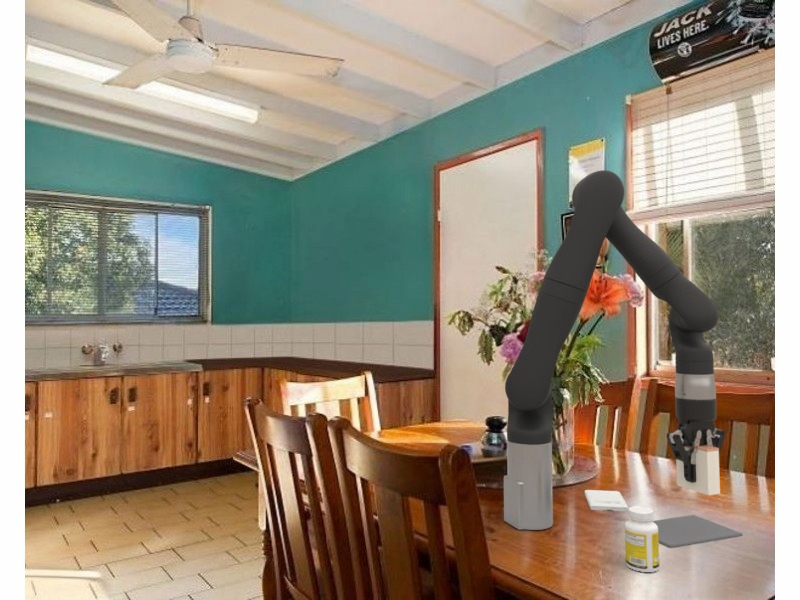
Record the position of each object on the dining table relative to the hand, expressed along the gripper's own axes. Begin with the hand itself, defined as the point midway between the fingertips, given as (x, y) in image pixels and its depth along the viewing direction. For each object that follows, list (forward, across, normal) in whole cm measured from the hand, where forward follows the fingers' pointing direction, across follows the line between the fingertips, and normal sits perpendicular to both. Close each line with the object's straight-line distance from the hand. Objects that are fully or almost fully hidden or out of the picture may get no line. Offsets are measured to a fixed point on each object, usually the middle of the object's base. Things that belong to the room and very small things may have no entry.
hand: (697, 480), depth 122 cm
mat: (+10, -4, 0) cm, 11 cm away
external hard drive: (+10, -6, +21) cm, 24 cm away
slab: (+2, 0, 0) cm, 2 cm away
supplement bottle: (+10, -24, -11) cm, 28 cm away
